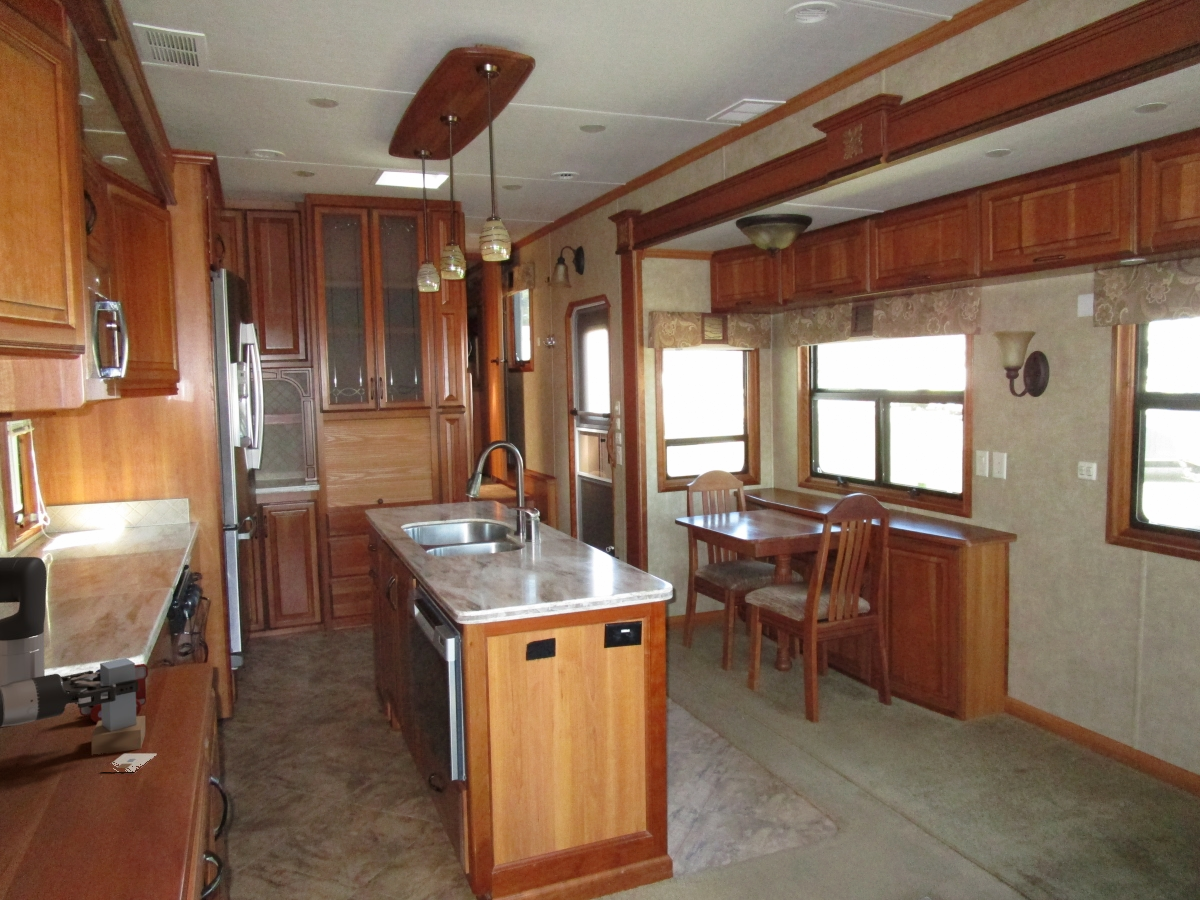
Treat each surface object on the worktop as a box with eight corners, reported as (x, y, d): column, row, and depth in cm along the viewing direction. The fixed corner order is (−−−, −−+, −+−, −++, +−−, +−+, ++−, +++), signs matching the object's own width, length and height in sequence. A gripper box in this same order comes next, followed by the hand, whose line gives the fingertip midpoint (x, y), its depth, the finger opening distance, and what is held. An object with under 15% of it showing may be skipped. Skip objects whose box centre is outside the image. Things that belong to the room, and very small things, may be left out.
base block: (91, 756, 154) (91, 735, 154) (98, 741, 161) (98, 720, 161) (140, 750, 157) (140, 729, 157) (145, 735, 164) (145, 715, 164)
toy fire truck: (79, 716, 173) (78, 666, 173) (147, 705, 180) (146, 658, 179) (79, 727, 167) (78, 676, 167) (149, 715, 174) (149, 666, 174)
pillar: (110, 731, 156) (108, 668, 155) (102, 724, 159) (100, 663, 158) (136, 724, 159) (134, 663, 158) (127, 718, 162) (125, 657, 161)
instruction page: (99, 773, 146) (99, 771, 146) (124, 754, 154) (124, 752, 154) (134, 773, 146) (134, 771, 146) (157, 754, 154) (156, 753, 154)
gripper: (40, 688, 143) (143, 668, 155) (19, 670, 153) (117, 652, 165) (41, 731, 143) (143, 708, 155) (20, 710, 153) (117, 690, 165)
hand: (129, 679), depth 160 cm, fingers open, 8 cm apart
